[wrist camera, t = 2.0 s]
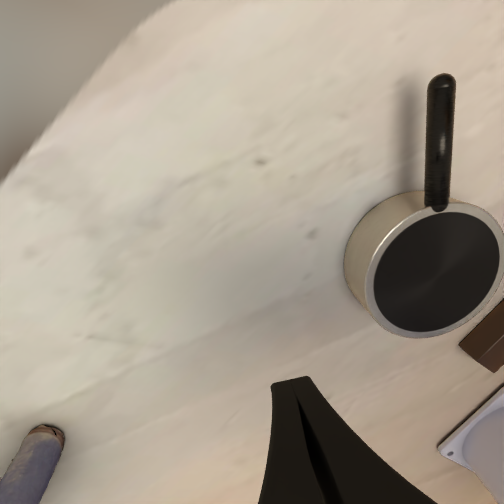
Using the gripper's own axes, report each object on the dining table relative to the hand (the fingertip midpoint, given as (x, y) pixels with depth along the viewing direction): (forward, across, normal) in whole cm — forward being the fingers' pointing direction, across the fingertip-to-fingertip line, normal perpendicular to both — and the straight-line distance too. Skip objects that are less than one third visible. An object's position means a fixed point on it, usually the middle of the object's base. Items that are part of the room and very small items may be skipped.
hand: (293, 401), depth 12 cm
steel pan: (+9, -9, -3) cm, 13 cm away
